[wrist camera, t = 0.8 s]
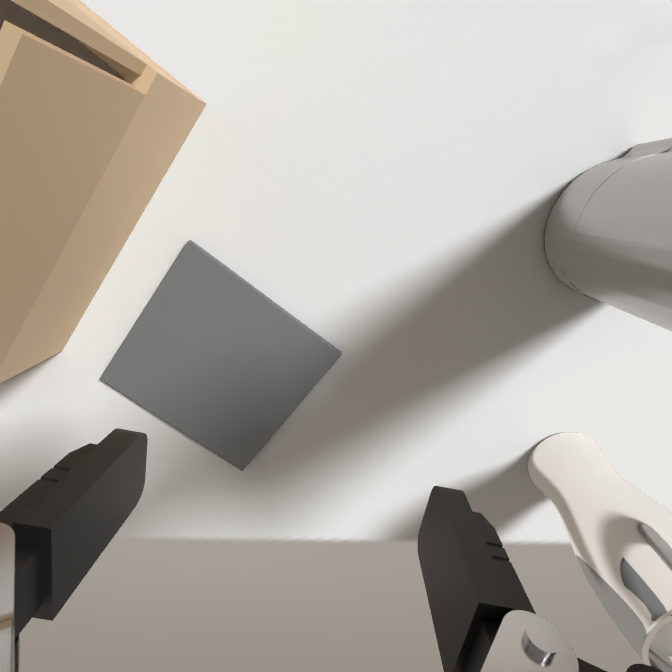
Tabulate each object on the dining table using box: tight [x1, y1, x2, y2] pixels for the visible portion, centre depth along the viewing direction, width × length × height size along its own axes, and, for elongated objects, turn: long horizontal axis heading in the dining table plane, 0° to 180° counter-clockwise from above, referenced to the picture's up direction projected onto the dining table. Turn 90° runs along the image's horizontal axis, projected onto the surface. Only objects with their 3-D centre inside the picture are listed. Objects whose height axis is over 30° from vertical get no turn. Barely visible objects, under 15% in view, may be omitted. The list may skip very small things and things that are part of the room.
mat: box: [100, 241, 341, 471], centre depth 32 cm, size 14×14×1 cm
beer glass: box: [528, 432, 672, 672], centre depth 27 cm, size 7×7×15 cm
